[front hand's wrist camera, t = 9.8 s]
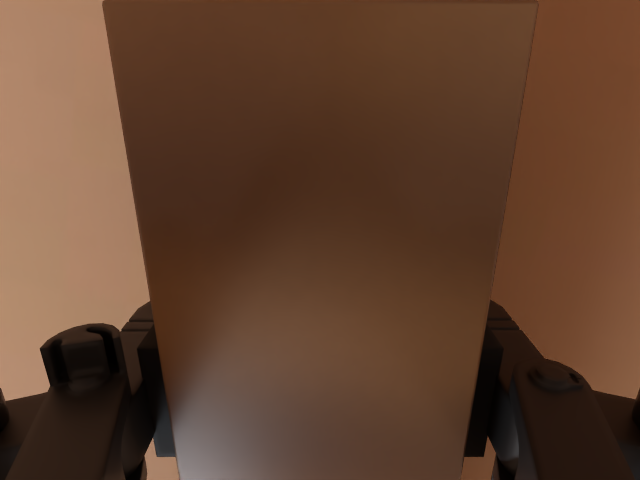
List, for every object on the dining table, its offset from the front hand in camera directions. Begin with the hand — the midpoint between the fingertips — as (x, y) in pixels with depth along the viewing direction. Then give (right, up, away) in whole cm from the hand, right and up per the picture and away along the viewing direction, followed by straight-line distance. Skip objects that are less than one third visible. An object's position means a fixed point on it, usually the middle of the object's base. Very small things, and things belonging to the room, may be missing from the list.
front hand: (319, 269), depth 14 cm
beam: (0, -17, +7) cm, 18 cm away
